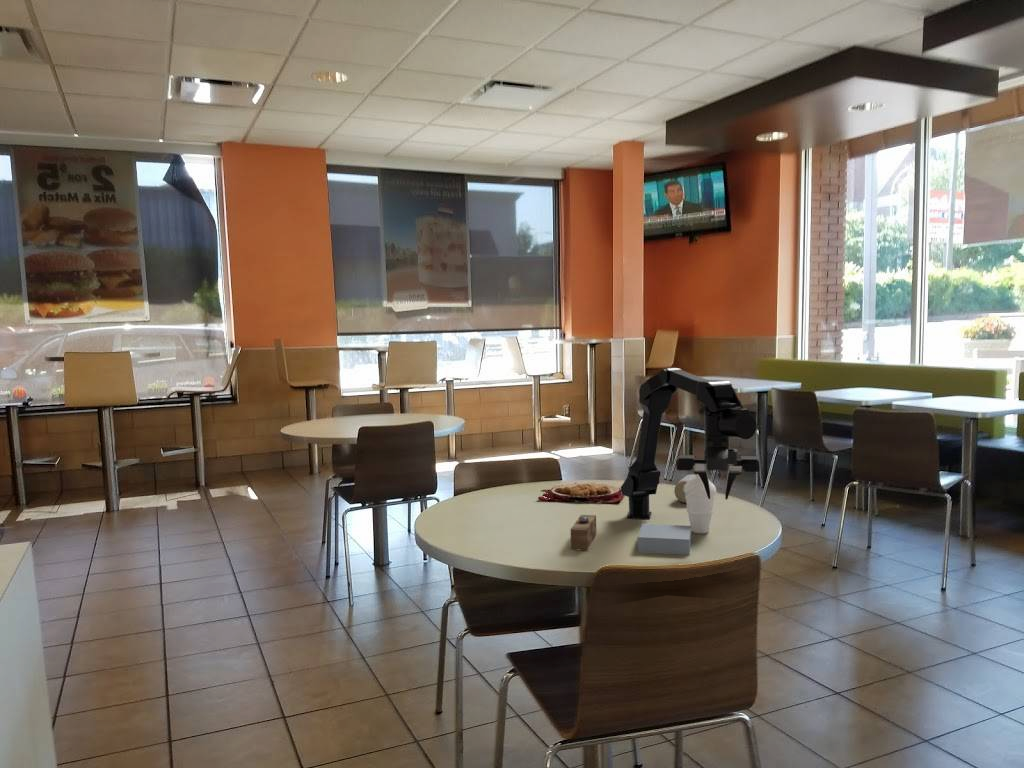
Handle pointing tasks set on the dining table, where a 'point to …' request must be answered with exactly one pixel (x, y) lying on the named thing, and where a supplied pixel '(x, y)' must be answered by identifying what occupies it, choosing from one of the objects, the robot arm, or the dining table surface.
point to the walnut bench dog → (583, 532)
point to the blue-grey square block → (664, 539)
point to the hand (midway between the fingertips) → (717, 499)
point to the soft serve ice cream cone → (699, 504)
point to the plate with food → (584, 492)
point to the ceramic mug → (680, 486)
